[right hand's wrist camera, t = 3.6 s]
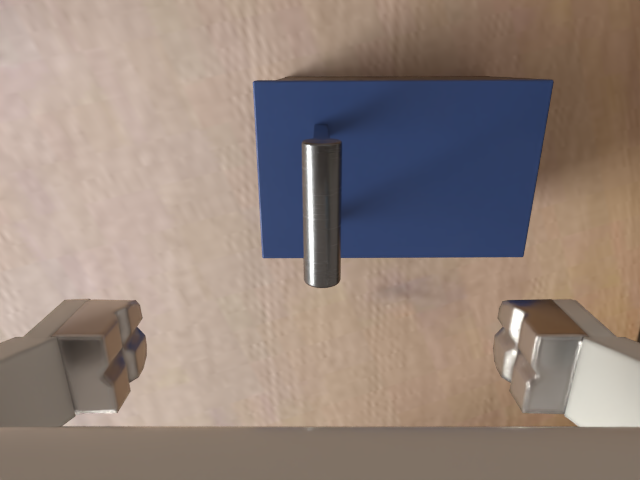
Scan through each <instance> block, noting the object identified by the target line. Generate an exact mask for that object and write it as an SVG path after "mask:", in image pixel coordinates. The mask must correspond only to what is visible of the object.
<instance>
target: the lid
mask: <svg viewBox="0 0 640 480" xmlns="http://www.w3.org/2000/svg"><path fill="white" fill-rule="evenodd" d="M552 88H553V80H547V79H502V80H257V81H254V82H253V94H254V112H255V131H256V149H257V168H258V186H259V205H260V223H261V242H262V257H263V258H304V281H305V282H306V284H308V285H310V286H312V287H317V288H328V287H332V286H335V285H337V284H338V283H339V281H340V273H341V258H417V257H523V256H524V250H525V244H526V239H527V233H528V227H529V221H530V215H531V210H532V204H533V198H534V192H535V186H536V181H537V175H538V169H539V163H540V157H541V152H542V146H543V140H544V134H545V128H546V123H547V117H548V111H549V105H550V99H551V94H552Z"/></svg>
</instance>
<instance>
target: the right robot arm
mask: <svg viewBox="0 0 640 480" xmlns="http://www.w3.org/2000/svg"><path fill="white" fill-rule="evenodd" d="M141 320H142V313H141V308H140V305H139V303H138V302H137V301H136V300H91V299H71V300H64V301H63V302H62V303H61V304H60V305H59V306H57V307H56V308H55V309H54V310H53V311H52V312H51V313H50V314H48V315H47V316H46V317H45V318H44V319H43V320H42V321H41V322H39V323H38V324H37V325H36V326H35V327H34V328H33V329H32V330H30V331H29V332H28V333H27V334H26V335H25V336H24V337H15V338H12V339H10V340H7V341H4V342H2V343H0V480H640V343H638V342H636V341H633V340H630V339H628V338H625V337H616V336H615V335H614V334H613V333H612V332H611V331H610V330H608V329H607V328H606V327H605V326H604V325H603V324H602V323H601V322H600V321H598V320H597V319H596V318H595V317H594V316H593V315H592V314H591V313H589V312H588V311H587V310H586V309H585V308H584V307H583V306H582V305H580V304H579V303H578V302H577V301H576V300H572V299H556V300H552V299H543V300H507V301H502V303H501V305H500V308H499V313H498V320H499V321H500V323H501V324H502V326H503V327H502V328H501V329H500V330H499V332H498V333H497V334H496V335H495V337H494V345H493V353H494V362H495V365H496V368H497V370H498V372H499V374H500V376H501V377H502V378H504V379H505V380H507V381H509V382H510V383H511V385H510V393H511V394H512V396H513V398H514V399H515V401H516V403H517V404H518V406H519V408H520V409H521V411H522V413H544V414H565V415H564V416H565V417H567V418H568V419H569V420H571V421H572V422H573V423H575V424H576V425H578V426H579V427H61V426H63V425H64V424H65V423H67V422H68V421H69V420H71V419H72V418H74V417H75V414H96V413H118V411H119V409H120V408H121V406H122V404H123V403H124V401H125V399H126V398H127V396H128V394H129V393H130V385H129V383H130V382H131V381H133V380H135V379H136V378H138V377H139V376H140V374H141V372H142V370H143V368H144V364H145V360H146V356H147V344H146V337H145V335H144V334H143V333H142V332H141V330H140V329H139V328H138V327H137V326H138V324H139V323H140V321H141Z"/></svg>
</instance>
